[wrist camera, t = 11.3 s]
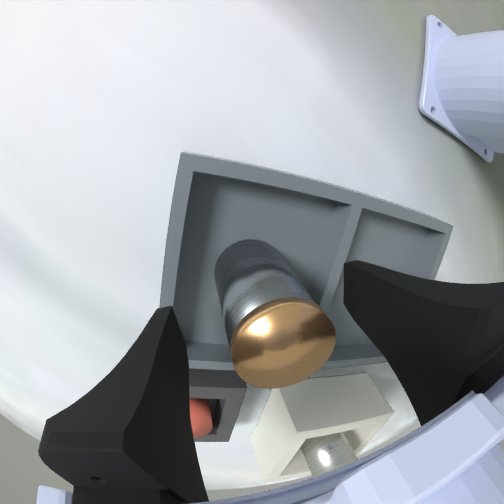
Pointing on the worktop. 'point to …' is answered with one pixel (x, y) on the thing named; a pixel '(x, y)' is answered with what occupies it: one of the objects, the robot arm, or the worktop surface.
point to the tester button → (200, 417)
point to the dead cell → (327, 453)
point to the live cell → (270, 317)
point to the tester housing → (218, 399)
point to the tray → (284, 247)
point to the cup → (315, 421)
